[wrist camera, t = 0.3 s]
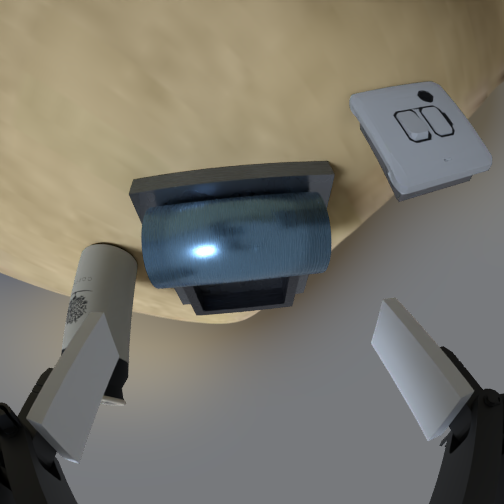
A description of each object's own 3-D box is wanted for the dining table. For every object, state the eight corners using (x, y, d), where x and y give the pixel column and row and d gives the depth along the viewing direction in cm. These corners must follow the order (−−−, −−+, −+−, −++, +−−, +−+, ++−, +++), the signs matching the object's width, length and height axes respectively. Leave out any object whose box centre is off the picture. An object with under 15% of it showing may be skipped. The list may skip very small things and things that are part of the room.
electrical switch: (434, 78, 16) (502, 146, 11) (431, 121, 20) (484, 190, 16) (343, 93, 18) (401, 171, 13) (350, 139, 22) (394, 219, 18)
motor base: (133, 179, 23) (111, 260, 18) (327, 161, 24) (363, 236, 18) (183, 292, 41) (183, 349, 36) (300, 281, 42) (312, 336, 36)
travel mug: (147, 272, 35) (141, 407, 25) (102, 279, 36) (89, 402, 25) (119, 236, 29) (98, 398, 18) (70, 248, 29) (44, 389, 19)
